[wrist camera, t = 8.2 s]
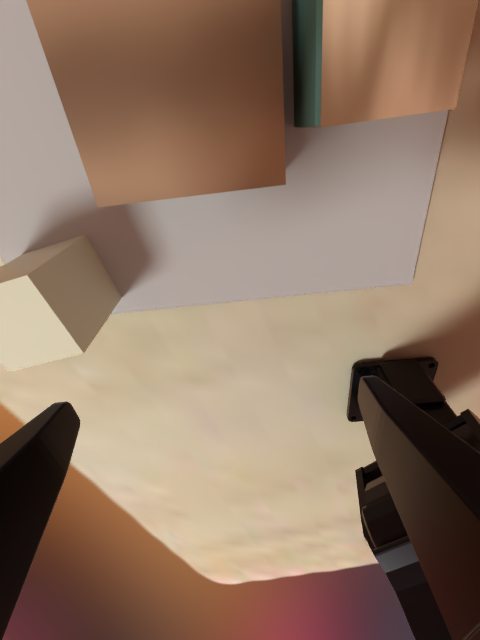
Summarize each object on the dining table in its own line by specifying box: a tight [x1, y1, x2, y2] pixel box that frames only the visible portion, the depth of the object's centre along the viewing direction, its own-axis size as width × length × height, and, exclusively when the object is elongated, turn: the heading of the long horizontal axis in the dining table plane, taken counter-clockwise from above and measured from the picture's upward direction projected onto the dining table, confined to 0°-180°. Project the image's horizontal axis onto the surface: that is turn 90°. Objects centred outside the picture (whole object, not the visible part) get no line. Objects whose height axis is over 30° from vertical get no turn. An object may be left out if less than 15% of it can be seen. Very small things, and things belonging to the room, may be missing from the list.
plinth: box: [26, 0, 286, 207], centre depth 13 cm, size 9×9×3 cm
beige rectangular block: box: [0, 234, 122, 372], centre depth 17 cm, size 4×4×6 cm
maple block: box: [292, 0, 479, 128], centre depth 12 cm, size 5×5×5 cm
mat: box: [0, 0, 448, 314], centre depth 15 cm, size 22×26×1 cm
